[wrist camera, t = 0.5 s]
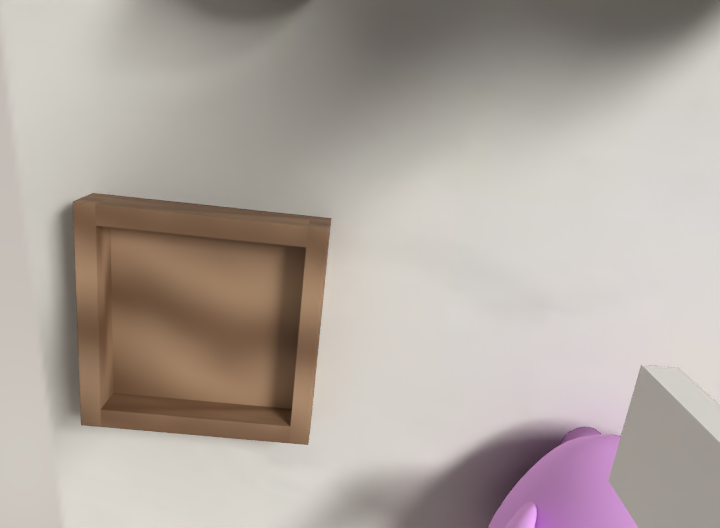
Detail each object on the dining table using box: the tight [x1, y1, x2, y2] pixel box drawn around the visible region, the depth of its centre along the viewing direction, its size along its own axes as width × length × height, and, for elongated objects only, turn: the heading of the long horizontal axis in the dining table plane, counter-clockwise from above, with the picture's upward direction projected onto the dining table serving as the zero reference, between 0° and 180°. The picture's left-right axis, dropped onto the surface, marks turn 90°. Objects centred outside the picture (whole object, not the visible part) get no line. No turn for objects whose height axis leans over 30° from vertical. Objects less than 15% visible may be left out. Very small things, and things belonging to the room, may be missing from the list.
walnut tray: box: [73, 193, 331, 445], centre depth 35 cm, size 14×14×3 cm
